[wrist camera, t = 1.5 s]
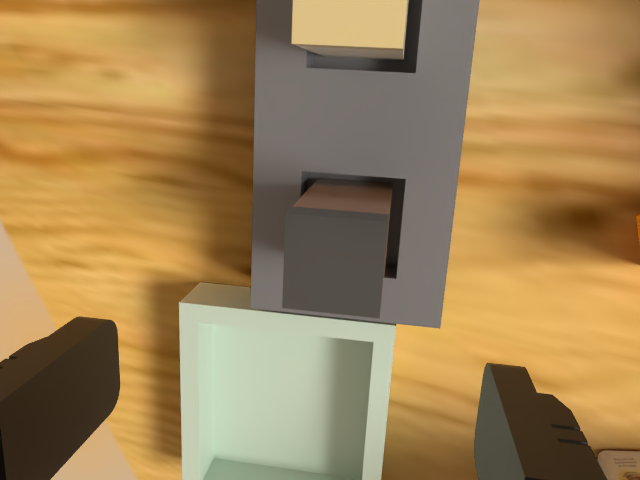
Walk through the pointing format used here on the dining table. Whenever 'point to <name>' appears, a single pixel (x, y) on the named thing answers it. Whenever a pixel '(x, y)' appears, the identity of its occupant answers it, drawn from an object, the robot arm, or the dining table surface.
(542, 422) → the robot arm
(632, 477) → the coffee box
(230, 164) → the dining table surface
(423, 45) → the block
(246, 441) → the parts tray
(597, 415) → the dining table surface
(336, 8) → the block
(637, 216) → the pipe clamp
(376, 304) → the block
